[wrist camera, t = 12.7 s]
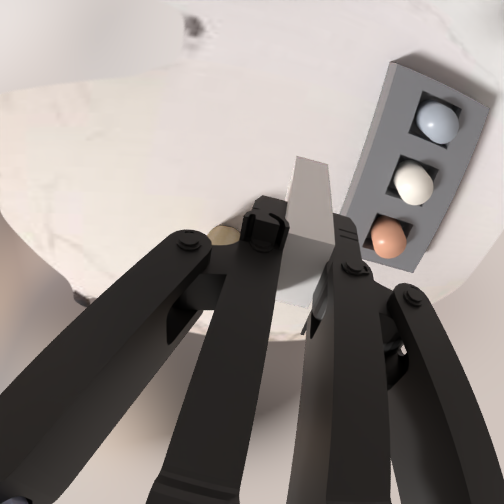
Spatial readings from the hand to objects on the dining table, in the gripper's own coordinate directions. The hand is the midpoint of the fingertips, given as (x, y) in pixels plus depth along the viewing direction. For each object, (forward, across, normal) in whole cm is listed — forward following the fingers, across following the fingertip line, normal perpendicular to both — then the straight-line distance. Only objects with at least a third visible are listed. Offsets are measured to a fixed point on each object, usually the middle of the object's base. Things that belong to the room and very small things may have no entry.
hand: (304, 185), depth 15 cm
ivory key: (+27, +16, -6) cm, 32 cm away
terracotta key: (+27, +16, -15) cm, 35 cm away
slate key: (+27, +16, +3) cm, 32 cm away
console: (+29, +16, -6) cm, 34 cm away
